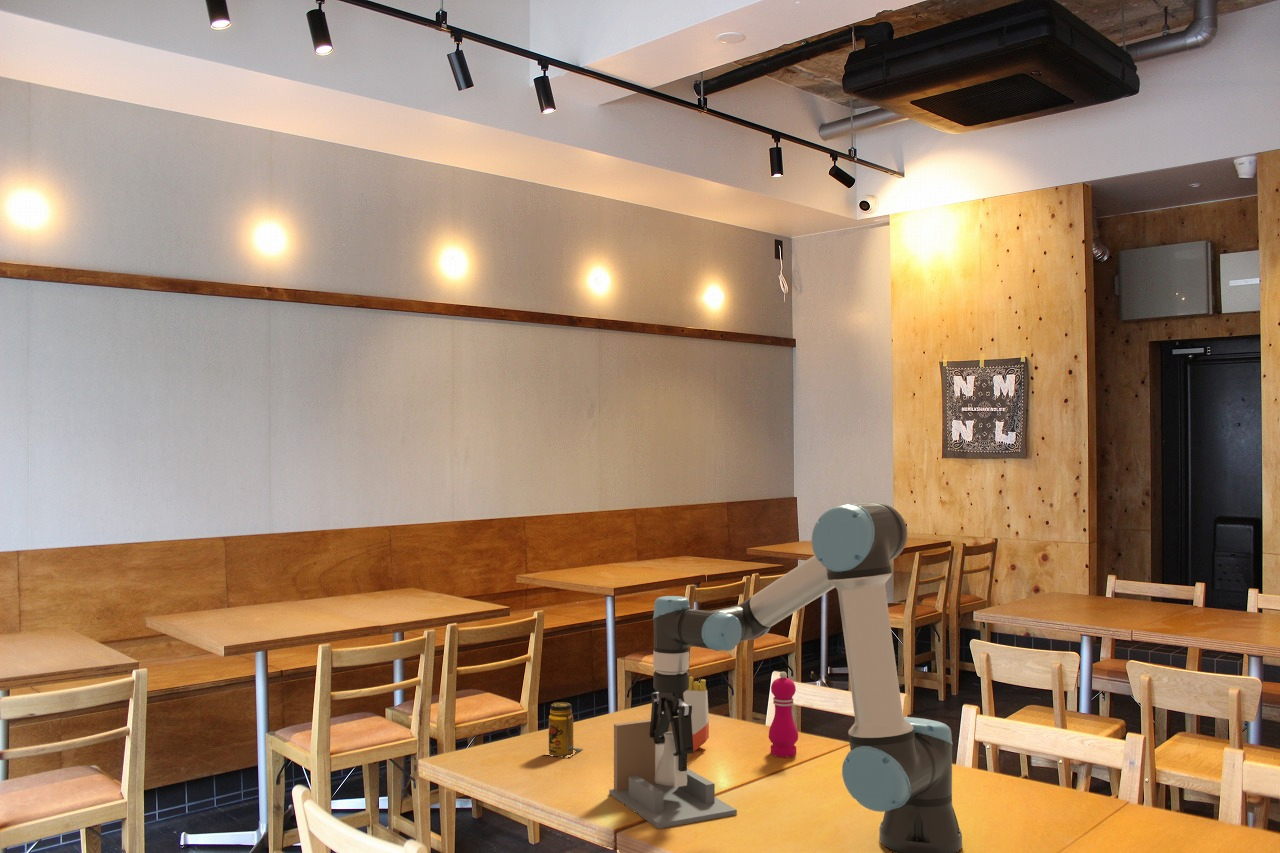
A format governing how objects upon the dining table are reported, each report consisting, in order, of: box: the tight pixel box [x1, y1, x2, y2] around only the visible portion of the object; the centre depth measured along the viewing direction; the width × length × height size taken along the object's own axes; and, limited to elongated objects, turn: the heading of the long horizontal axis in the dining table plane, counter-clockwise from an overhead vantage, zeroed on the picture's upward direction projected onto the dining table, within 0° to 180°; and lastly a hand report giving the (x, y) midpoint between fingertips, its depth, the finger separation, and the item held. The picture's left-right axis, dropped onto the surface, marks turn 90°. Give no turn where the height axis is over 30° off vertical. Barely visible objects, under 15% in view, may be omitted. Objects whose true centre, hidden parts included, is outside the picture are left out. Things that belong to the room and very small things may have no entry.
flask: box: [654, 732, 688, 786], centre depth 218 cm, size 7×7×10 cm
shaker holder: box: [608, 716, 738, 830], centre depth 218 cm, size 23×18×15 cm
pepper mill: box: [768, 671, 799, 758], centre depth 255 cm, size 7×7×20 cm
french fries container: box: [683, 676, 710, 752], centre depth 260 cm, size 5×11×18 cm, turn 75°
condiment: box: [548, 701, 584, 759], centre depth 256 cm, size 7×8×12 cm
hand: (670, 779), depth 218 cm, fingers closed on flask, 8 cm apart
